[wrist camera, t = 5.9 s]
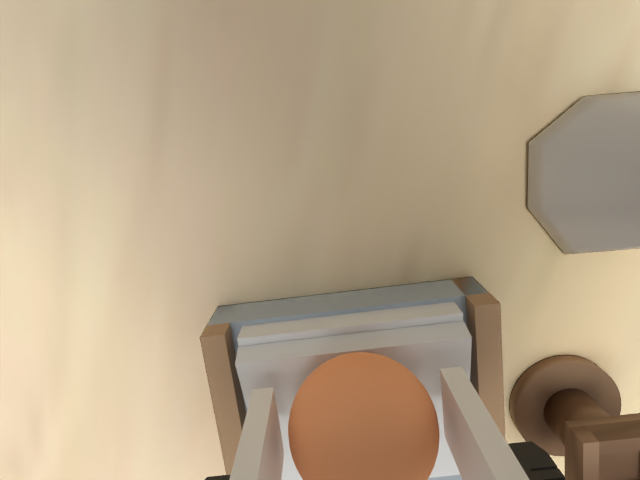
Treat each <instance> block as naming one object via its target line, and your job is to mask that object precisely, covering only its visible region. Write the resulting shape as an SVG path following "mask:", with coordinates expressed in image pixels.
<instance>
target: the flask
mask: <svg viewBox="0 0 640 480" xmlns="http://www.w3.org/2000/svg"><path fill="white" fill-rule="evenodd" d="M528 209H529V210H530V211H531V213H532V214H533V215H534V216H535V218H536V219H537V220H538V221H539V223H540V224H541V225H542V226H543V228H544V229H545V230H546V232H547V233H548V234H549V235H550V237H551V238H552V239H553V240H554V242H555V243H556V244H557V245H558V247H559V248H560V249H561V250H562V252H563V253H564V254H576V253H588V252H601V251H613V250H625V249H637V248H640V92H628V93H617V94H605V95H593V96H584V97H583V98H581V99H580V100H579V101H578V102H577V103H575V104H574V105H573V106H572V107H571V108H569V109H568V110H567V111H566V112H565V113H563V114H562V115H561V116H560V117H559V118H557V119H556V120H555V121H554V122H553V123H551V124H550V125H549V126H548V127H547V128H545V129H544V130H543V131H542V132H541V133H539V134H538V135H537V136H536V137H535V138H533V139H532V140H531V141H530V142H529V161H528Z"/></svg>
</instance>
